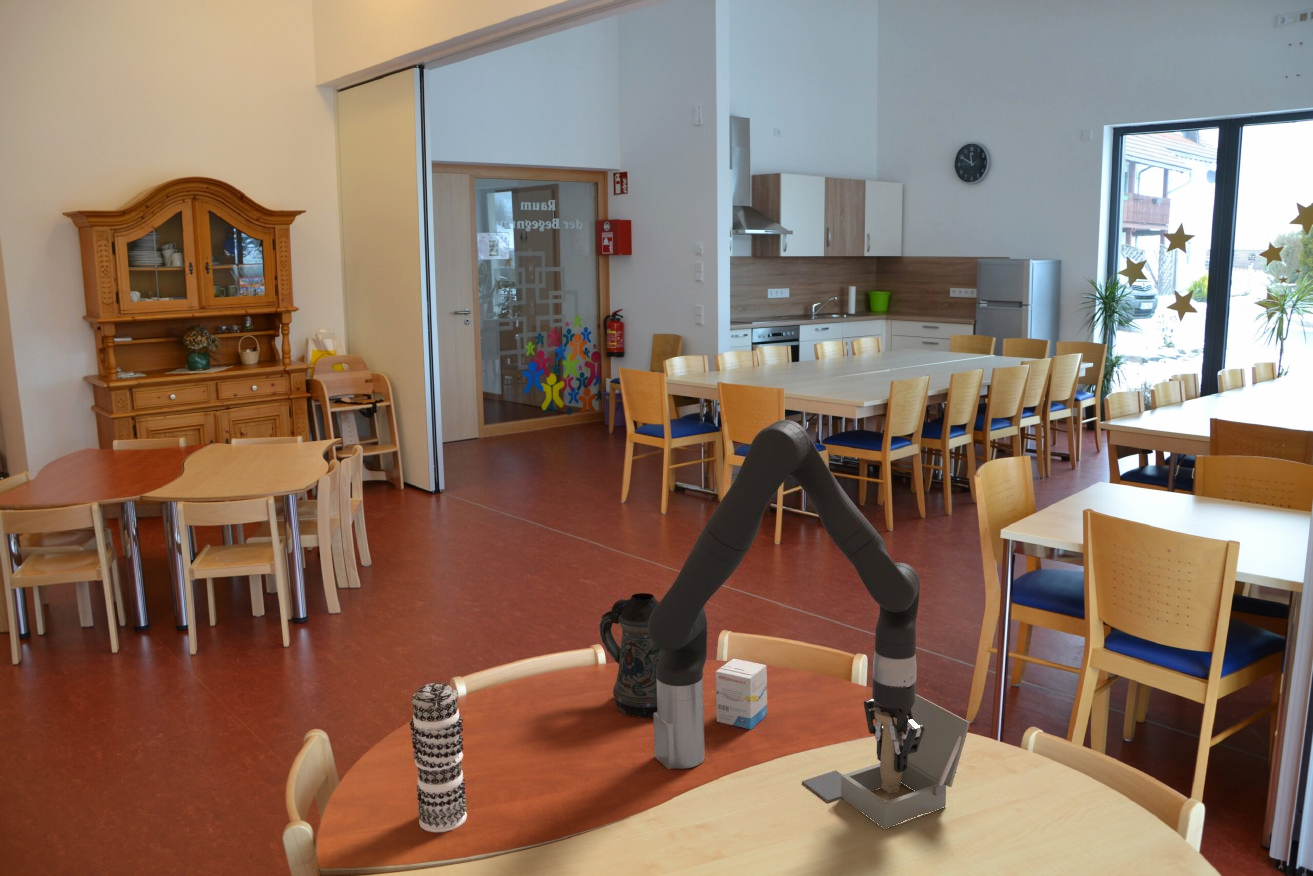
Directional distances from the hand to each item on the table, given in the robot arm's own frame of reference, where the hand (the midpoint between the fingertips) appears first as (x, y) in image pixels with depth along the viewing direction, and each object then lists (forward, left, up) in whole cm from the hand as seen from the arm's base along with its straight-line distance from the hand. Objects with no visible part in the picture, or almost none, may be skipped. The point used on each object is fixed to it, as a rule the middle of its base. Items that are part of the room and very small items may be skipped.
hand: (891, 765), depth 177 cm
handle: (0, 0, -5) cm, 5 cm away
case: (+2, 0, -7) cm, 8 cm away
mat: (-6, +10, -7) cm, 13 cm away
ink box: (-5, +43, -8) cm, 44 cm away
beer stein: (-20, +61, -8) cm, 64 cm away
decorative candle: (-73, +36, -8) cm, 82 cm away
